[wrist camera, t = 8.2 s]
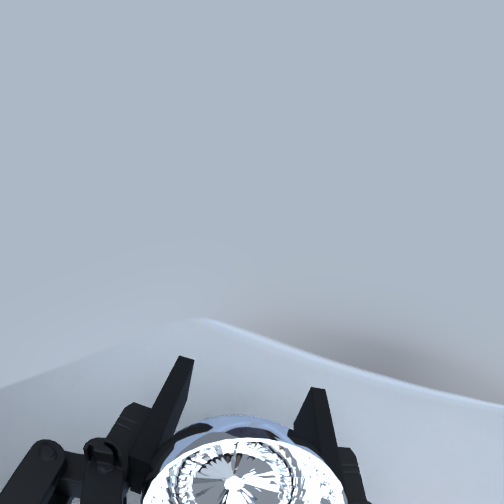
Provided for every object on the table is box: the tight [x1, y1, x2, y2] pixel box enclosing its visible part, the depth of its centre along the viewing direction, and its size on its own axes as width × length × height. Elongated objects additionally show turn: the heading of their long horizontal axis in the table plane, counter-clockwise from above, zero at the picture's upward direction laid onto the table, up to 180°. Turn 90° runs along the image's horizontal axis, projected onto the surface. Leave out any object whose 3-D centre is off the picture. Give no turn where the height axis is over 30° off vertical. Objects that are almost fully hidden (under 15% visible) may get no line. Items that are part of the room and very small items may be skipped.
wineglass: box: [140, 415, 348, 504], centre depth 9 cm, size 6×6×12 cm
